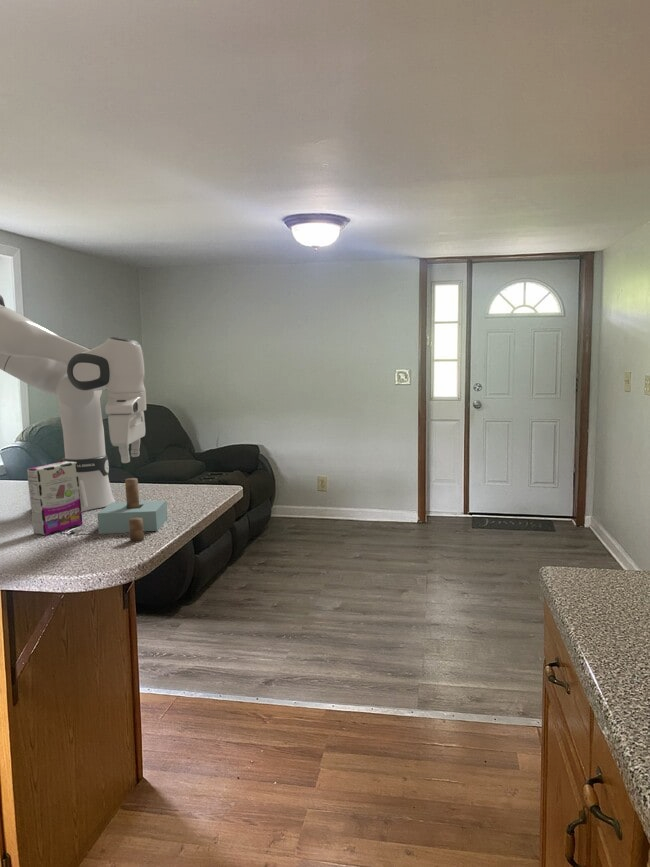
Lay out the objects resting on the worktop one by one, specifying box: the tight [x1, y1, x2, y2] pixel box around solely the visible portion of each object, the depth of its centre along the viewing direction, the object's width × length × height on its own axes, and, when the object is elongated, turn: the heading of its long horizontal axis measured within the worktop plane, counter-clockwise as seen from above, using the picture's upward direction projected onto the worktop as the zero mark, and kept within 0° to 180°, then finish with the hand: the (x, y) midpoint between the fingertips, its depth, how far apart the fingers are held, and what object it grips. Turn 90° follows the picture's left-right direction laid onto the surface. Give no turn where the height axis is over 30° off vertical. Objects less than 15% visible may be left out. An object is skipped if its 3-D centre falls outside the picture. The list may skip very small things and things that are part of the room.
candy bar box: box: [26, 461, 84, 536], centre depth 163 cm, size 11×5×16 cm, turn 148°
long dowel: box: [124, 477, 140, 509], centre depth 163 cm, size 3×3×12 cm
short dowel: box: [129, 517, 145, 543], centre depth 151 cm, size 3×3×5 cm
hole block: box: [96, 499, 169, 535], centre depth 164 cm, size 14×12×5 cm
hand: (130, 459), depth 162 cm, fingers open, 8 cm apart
